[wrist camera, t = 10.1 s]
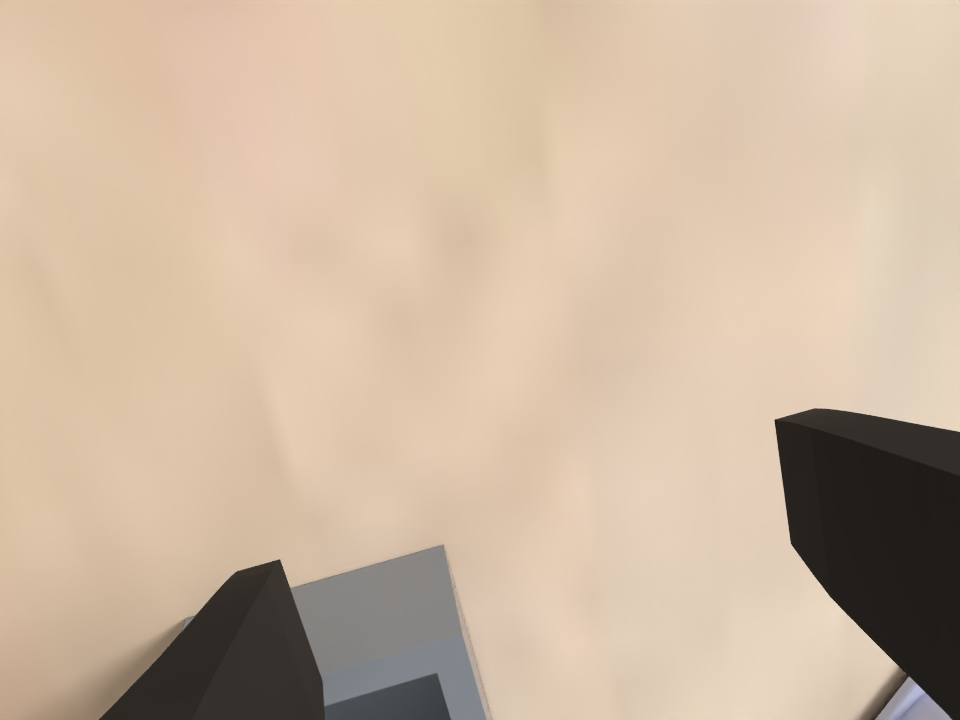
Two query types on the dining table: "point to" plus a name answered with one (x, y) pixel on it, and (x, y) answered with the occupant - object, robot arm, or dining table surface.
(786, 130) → the dining table surface
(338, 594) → the grey square socket
